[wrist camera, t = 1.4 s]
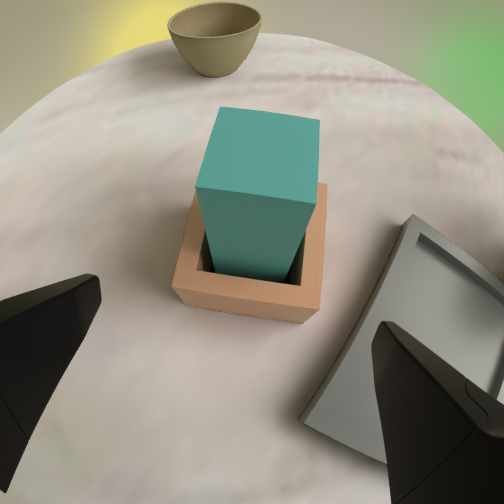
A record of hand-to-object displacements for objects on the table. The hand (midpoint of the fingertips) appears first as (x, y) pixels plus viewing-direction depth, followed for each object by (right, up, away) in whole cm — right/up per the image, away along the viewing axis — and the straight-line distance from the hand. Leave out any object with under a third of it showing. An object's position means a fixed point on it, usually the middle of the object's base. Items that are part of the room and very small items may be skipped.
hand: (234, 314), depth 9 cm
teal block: (+1, +1, +14) cm, 14 cm away
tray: (+15, -7, +11) cm, 20 cm away
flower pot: (-4, +24, +23) cm, 34 cm away
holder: (+1, +1, +14) cm, 14 cm away
